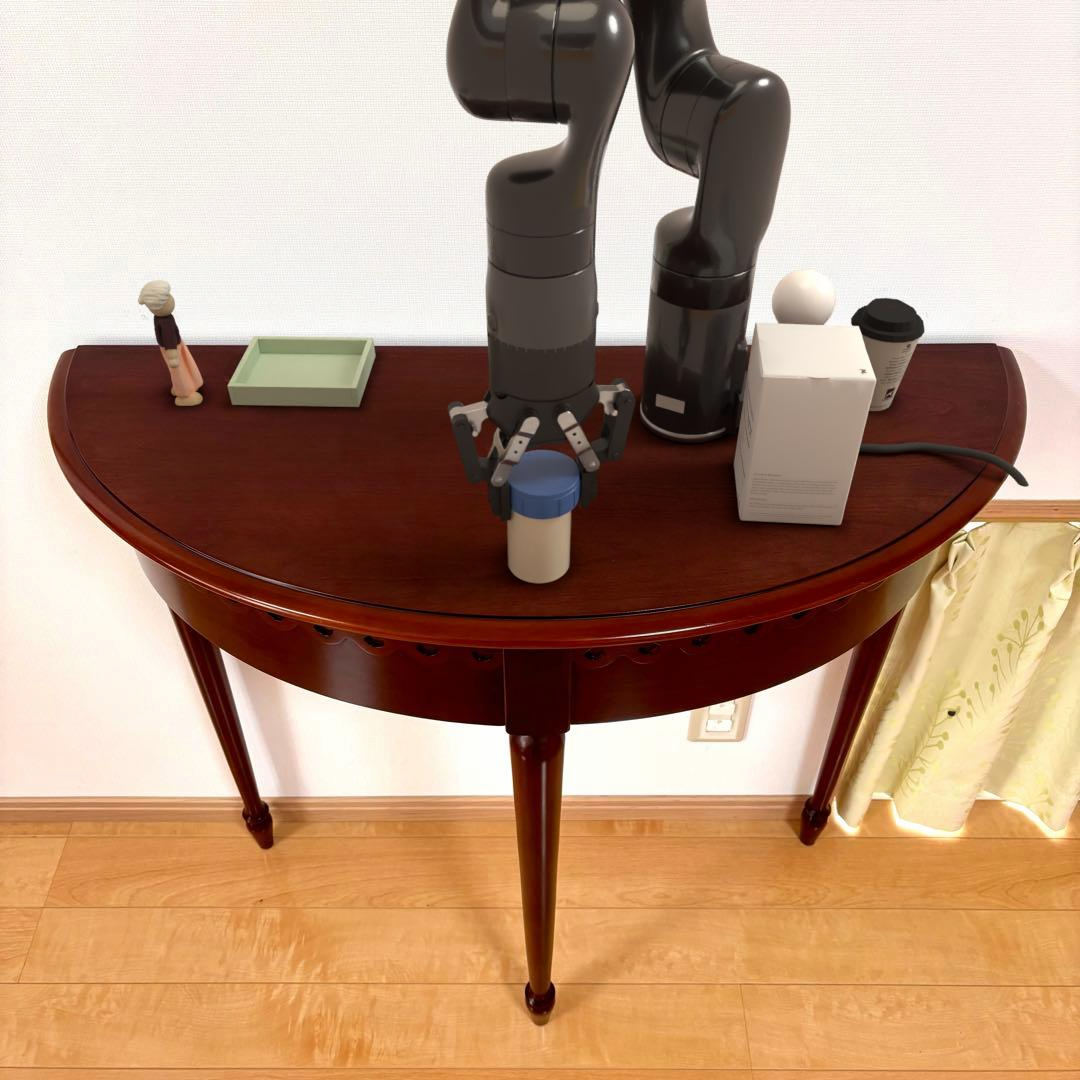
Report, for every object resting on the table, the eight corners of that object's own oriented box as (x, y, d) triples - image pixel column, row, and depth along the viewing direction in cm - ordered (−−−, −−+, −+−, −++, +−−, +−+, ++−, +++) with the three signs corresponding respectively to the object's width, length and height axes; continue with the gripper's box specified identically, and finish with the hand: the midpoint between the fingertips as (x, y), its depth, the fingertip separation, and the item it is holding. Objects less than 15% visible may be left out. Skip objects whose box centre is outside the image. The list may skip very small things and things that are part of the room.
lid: (498, 479, 77) (497, 455, 76) (568, 469, 78) (569, 445, 77) (513, 524, 73) (513, 500, 72) (587, 513, 74) (588, 489, 73)
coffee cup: (909, 419, 96) (936, 330, 89) (838, 416, 97) (859, 327, 90) (896, 382, 101) (920, 295, 95) (829, 379, 102) (848, 292, 95)
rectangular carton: (829, 466, 90) (863, 323, 80) (842, 527, 84) (881, 379, 74) (731, 461, 91) (753, 318, 81) (736, 521, 84) (761, 374, 74)
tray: (375, 356, 106) (373, 337, 105) (359, 407, 98) (356, 388, 97) (257, 354, 106) (253, 335, 105) (232, 405, 99) (227, 386, 97)
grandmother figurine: (217, 403, 99) (186, 290, 91) (180, 415, 97) (146, 301, 89) (192, 371, 104) (160, 261, 95) (157, 382, 102) (121, 271, 94)
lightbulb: (749, 359, 105) (764, 265, 98) (798, 347, 107) (816, 254, 100) (782, 388, 101) (800, 291, 93) (832, 375, 102) (854, 279, 95)
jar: (570, 542, 82) (572, 458, 76) (569, 584, 79) (572, 499, 73) (509, 540, 82) (507, 456, 76) (506, 582, 79) (503, 497, 73)
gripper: (625, 280, 69) (614, 467, 80) (428, 304, 67) (445, 493, 78) (659, 330, 64) (643, 523, 75) (446, 358, 61) (462, 554, 72)
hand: (542, 507), depth 76 cm, fingers closed on lid, 5 cm apart
